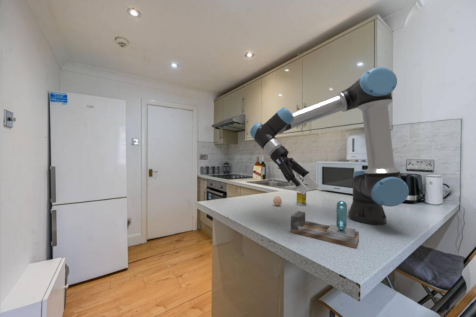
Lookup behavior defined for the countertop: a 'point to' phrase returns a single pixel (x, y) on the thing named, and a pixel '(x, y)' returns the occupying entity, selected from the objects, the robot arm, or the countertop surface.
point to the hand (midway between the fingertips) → (311, 190)
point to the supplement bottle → (301, 198)
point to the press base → (319, 231)
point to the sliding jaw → (341, 222)
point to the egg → (277, 201)
